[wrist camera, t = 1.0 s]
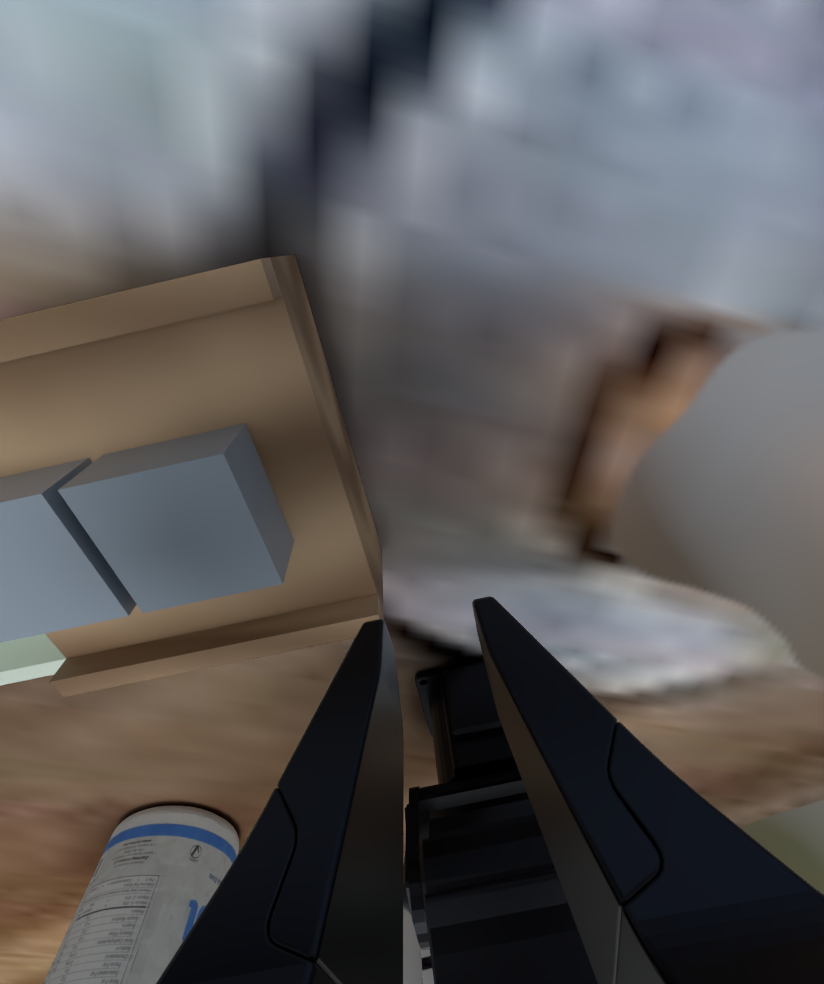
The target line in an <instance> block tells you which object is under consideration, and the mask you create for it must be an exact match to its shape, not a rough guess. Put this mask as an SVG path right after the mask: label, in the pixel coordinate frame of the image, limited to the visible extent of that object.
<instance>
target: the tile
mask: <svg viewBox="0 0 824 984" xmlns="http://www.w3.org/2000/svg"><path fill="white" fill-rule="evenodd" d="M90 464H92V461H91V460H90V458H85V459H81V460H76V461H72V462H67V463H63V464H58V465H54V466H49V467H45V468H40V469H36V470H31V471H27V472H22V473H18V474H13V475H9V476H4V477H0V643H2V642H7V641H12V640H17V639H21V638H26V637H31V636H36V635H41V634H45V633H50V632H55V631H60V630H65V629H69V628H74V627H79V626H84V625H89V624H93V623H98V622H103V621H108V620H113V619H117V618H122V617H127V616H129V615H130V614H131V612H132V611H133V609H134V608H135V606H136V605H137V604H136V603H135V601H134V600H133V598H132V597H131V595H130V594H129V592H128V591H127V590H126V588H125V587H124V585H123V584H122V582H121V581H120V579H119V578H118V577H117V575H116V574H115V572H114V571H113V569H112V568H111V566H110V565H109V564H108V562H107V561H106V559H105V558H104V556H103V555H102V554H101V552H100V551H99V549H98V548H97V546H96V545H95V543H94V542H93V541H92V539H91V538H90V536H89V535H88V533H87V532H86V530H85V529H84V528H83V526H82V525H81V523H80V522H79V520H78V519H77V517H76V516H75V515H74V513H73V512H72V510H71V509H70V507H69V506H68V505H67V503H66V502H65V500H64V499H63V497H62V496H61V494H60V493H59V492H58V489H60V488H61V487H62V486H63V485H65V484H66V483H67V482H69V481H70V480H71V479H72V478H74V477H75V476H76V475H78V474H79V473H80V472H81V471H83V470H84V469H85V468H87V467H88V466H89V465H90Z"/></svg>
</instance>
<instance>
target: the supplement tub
mask: <svg viewBox="0 0 824 984" xmlns="http://www.w3.org/2000/svg"><path fill="white" fill-rule="evenodd" d="M238 851H239V838H238V835H237V832H236V830H235V829H234V827H233V826H232V825H231V824H230V823H229V822H228V821H226V820H225V819H224V818H221V817H219V816H218V815H216V814H214V813H212V812H209V811H207V810H203V809H200V808H195V807H190V806H173V805H171V806H159V807H153V808H149V809H145V810H142V811H139V812H137V813H135V814H133V815H131V816H129V817H127V818H126V819H125V820H124V821H122V822H121V823H120V824H119V825H118V826H117V828H116V829H115V830H114V832H113V834H112V836H111V838H110V840H109V842H108V844H107V846H106V848H105V851H104V853H103V855H102V857H101V859H100V861H99V864H98V866H97V868H96V870H95V872H94V875H93V877H92V879H91V881H90V883H89V885H88V888H87V890H86V892H85V894H84V896H83V899H82V901H81V903H80V905H79V907H78V909H77V911H76V914H75V916H74V918H73V920H72V922H71V924H70V926H69V929H68V931H67V933H66V935H65V937H64V939H63V942H62V944H61V946H60V948H59V950H58V953H57V955H56V957H55V959H54V961H53V963H52V966H51V968H50V970H49V972H48V974H47V977H46V979H45V981H44V983H43V984H156V983H157V981H158V980H159V978H160V977H161V975H162V973H163V972H164V970H165V969H166V967H167V966H168V964H169V963H170V961H171V959H172V958H173V956H174V955H175V953H176V952H177V950H178V948H179V947H180V945H181V944H182V942H183V941H184V939H185V938H186V936H187V934H188V933H189V931H190V930H191V928H192V927H193V925H194V924H195V922H196V920H197V919H198V917H199V916H200V914H201V913H202V911H203V910H204V908H205V906H206V905H207V903H208V902H209V900H210V899H211V897H212V896H213V894H214V892H215V891H216V889H217V888H218V886H219V885H220V883H221V881H222V880H223V878H224V876H225V875H226V873H227V872H228V870H229V868H230V867H231V865H232V863H233V862H234V860H235V859H236V857H237V855H238Z"/></svg>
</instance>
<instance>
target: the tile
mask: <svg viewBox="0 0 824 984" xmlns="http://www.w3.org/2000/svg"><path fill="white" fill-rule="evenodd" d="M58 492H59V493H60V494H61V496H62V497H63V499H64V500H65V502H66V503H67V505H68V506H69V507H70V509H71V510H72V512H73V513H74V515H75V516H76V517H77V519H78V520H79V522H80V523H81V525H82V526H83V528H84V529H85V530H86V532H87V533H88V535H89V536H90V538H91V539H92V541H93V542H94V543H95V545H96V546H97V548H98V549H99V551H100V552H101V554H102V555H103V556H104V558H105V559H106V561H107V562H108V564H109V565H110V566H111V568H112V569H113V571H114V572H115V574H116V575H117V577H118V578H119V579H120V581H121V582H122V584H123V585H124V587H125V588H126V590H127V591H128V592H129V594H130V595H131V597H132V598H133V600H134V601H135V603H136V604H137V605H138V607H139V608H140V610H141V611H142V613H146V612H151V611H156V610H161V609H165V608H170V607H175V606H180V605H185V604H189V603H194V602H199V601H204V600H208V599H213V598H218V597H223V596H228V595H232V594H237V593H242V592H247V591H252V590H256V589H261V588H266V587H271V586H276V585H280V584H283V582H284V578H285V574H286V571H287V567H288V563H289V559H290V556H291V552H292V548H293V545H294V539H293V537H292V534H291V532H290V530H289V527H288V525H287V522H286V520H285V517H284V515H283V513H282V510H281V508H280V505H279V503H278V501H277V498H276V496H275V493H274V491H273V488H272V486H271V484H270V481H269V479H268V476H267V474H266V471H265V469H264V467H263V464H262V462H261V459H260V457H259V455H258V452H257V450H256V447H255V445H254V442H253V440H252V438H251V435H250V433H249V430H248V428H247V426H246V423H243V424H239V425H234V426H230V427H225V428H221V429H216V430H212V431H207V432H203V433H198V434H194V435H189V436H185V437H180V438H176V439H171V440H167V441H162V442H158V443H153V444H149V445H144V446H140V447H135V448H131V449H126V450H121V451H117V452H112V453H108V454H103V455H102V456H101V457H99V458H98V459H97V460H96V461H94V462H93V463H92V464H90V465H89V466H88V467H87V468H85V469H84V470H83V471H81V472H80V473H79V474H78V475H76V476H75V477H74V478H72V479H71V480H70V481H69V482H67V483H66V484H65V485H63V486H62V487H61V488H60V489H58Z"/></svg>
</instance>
